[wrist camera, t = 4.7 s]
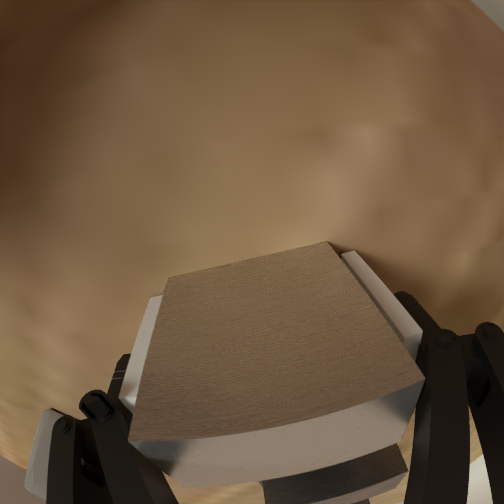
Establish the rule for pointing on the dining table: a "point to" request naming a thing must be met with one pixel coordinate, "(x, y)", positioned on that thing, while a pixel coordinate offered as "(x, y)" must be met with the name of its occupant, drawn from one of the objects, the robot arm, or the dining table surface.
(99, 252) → the dining table surface
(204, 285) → the grey block
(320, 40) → the dining table surface
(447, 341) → the robot arm
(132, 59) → the dining table surface
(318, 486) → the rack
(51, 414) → the electrical switch
